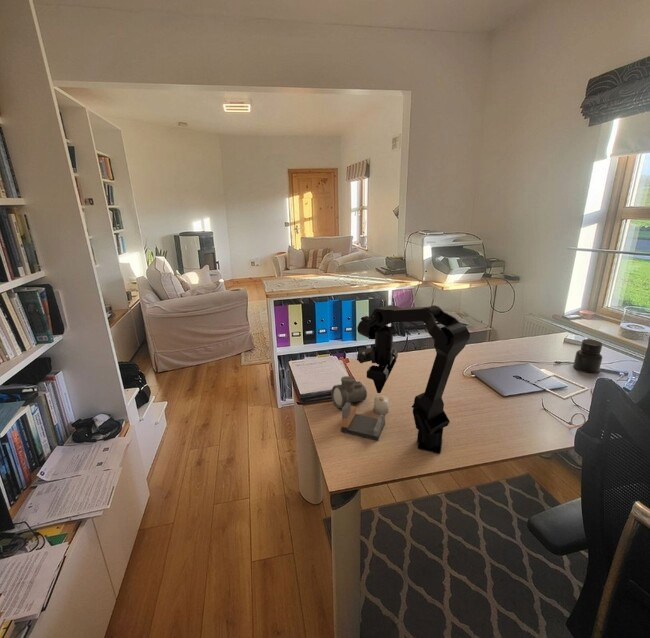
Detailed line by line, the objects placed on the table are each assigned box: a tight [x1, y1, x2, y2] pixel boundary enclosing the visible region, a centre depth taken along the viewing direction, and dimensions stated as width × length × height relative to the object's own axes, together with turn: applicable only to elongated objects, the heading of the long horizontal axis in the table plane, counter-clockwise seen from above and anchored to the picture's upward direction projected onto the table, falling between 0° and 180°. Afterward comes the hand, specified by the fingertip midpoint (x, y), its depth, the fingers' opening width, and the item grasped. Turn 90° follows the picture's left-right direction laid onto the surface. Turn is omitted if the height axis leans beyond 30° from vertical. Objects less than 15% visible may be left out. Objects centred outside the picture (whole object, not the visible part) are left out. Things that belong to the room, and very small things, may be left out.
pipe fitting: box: [331, 375, 368, 409], centre depth 126 cm, size 12×8×10 cm
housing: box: [373, 395, 390, 416], centre depth 121 cm, size 5×5×5 cm
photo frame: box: [540, 368, 590, 400], centre depth 137 cm, size 15×1×18 cm
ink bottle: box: [573, 338, 603, 374], centre depth 146 cm, size 10×9×12 cm
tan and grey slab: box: [341, 402, 356, 428], centre depth 114 cm, size 2×8×6 cm, turn 157°
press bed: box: [340, 413, 386, 442], centre depth 113 cm, size 12×9×4 cm
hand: (382, 386), depth 119 cm, fingers open, 9 cm apart
